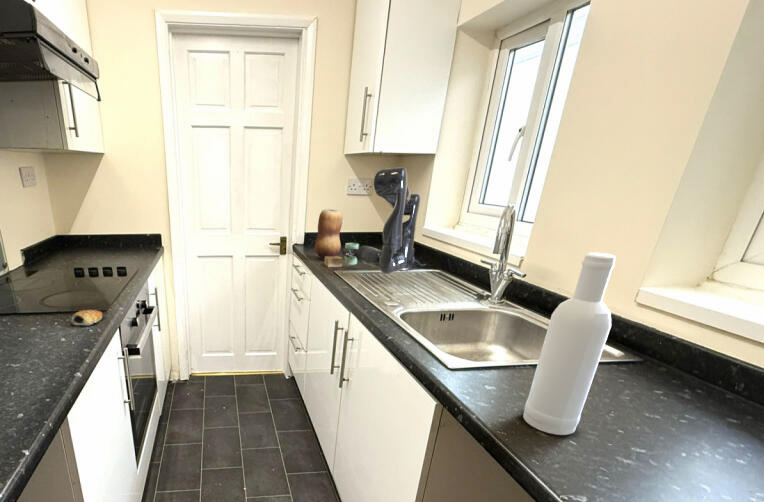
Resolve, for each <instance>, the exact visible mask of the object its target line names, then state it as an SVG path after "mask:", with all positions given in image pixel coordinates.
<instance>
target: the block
mask: <svg viewBox="0 0 764 502" xmlns="http://www.w3.org/2000/svg"><path fill="white" fill-rule="evenodd" d="M343 258H344V257H341V256H340V255H337V256H326V257H325V260H323V261H324V263H323V265H324V266H326V267H327V268H342V267H343V262H344V259H343Z"/></svg>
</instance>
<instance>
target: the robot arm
mask: <svg viewBox="0 0 764 502" xmlns="http://www.w3.org/2000/svg"><path fill="white" fill-rule="evenodd" d="M372 182H373V183H372V185H373V190H374V192H375V194H376V195H377V196H378V197H380V198H382V199H384V200H385V201H386V202H387V204H389V205H390V206H391V208H392V211H391V212H390V214H389V216H388V217H387V219H386V221H384V225H383V228H382V248H381V249H378V248H376V247H373V246H369V245H362V246H359V248H357V249H353V248H351V249H346V248H345V247H341V250H340V252H341V254H342V255H341V256H343V257H344V256H346V257H349V256H352V257H355V258H357V262H359V263H361V264H364V265H367V266H372V267H375V268H378V269H379V270H380V272H381V273H382V274H384V275H389V274H393V273H395V272H398V271H408V270H412V268H413V264H415V262H416V264H417V265H418V266H419V267H426V266H427V263H423V264H421V263H420V261H419V260H417V259H415V258H416V257H415V248H414V242H415V236H416V229H417V228H416V227H417V221H418V217H419V216H418V215H419V211H420V205H421V196H420V194H419V193H411V189H410V188H409V186H408V172H407V169H406V168H405V167H401V166H400V167H389V168H382V169H379V170H377V172H376V173H375V175H374V177H373V181H372ZM404 216H409V217H408V218H407V219H406V220H404ZM352 250H353V251H352Z"/></svg>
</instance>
